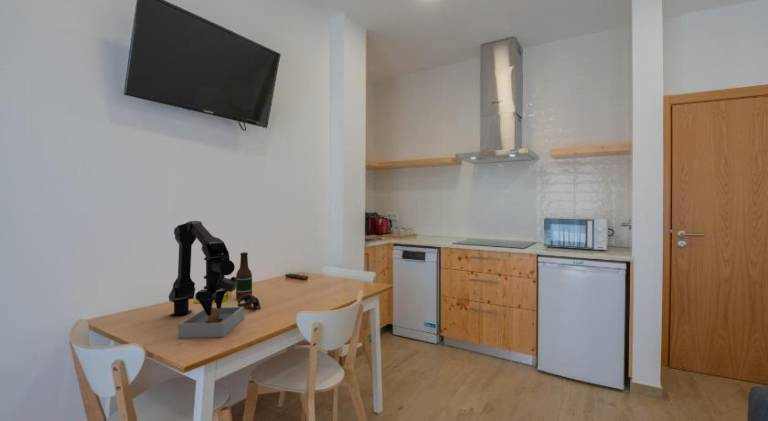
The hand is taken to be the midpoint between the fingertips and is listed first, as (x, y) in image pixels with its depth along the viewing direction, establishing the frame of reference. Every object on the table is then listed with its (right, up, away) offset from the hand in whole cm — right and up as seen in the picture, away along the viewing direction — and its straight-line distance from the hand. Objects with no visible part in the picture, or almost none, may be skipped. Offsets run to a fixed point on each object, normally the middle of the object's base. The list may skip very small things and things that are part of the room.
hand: (214, 311), depth 140 cm
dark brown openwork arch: (+4, -6, +26) cm, 27 cm away
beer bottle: (-5, -6, +44) cm, 45 cm away
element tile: (-21, -6, +44) cm, 49 cm away
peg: (0, -6, 0) cm, 6 cm away
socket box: (0, -6, 0) cm, 6 cm away
